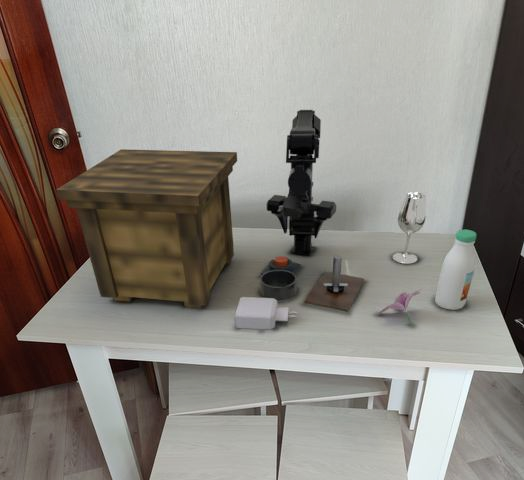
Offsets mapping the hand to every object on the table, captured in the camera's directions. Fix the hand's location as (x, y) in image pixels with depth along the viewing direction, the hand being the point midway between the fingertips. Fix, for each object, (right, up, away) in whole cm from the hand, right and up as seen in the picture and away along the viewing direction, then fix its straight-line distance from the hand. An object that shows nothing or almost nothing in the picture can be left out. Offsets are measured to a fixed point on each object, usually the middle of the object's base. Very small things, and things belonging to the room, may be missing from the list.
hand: (300, 235), depth 135 cm
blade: (+9, -16, -4) cm, 19 cm away
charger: (-10, -26, -13) cm, 30 cm away
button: (-5, -7, +6) cm, 11 cm away
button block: (-5, -9, +8) cm, 13 cm away
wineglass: (+34, -5, +12) cm, 36 cm away
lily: (+24, -25, -14) cm, 37 cm away
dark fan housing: (-6, -17, -2) cm, 18 cm away
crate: (-38, -13, +5) cm, 40 cm away
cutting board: (+10, -17, -3) cm, 20 cm away
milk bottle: (+39, -21, -9) cm, 45 cm away
